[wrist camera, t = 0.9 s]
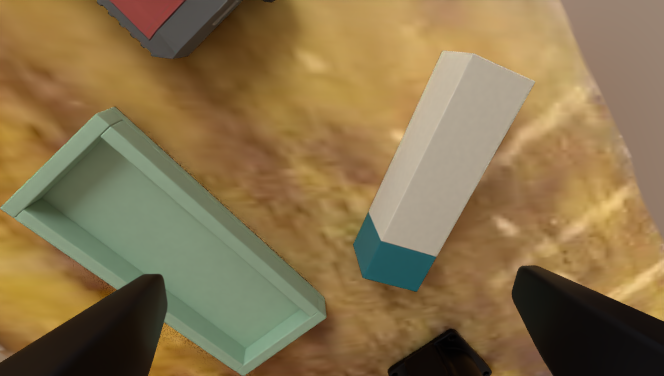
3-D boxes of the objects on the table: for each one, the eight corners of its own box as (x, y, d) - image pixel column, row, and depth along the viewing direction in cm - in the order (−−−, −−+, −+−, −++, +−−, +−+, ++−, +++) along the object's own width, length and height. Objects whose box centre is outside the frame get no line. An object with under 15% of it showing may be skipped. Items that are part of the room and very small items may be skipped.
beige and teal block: (442, 50, 19) (473, 52, 16) (496, 74, 20) (536, 81, 17) (352, 244, 24) (362, 278, 20) (400, 257, 25) (416, 292, 21)
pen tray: (324, 297, 25) (327, 317, 23) (246, 353, 27) (243, 377, 25) (114, 105, 19) (95, 113, 17) (25, 192, 20) (-2, 208, 18)
